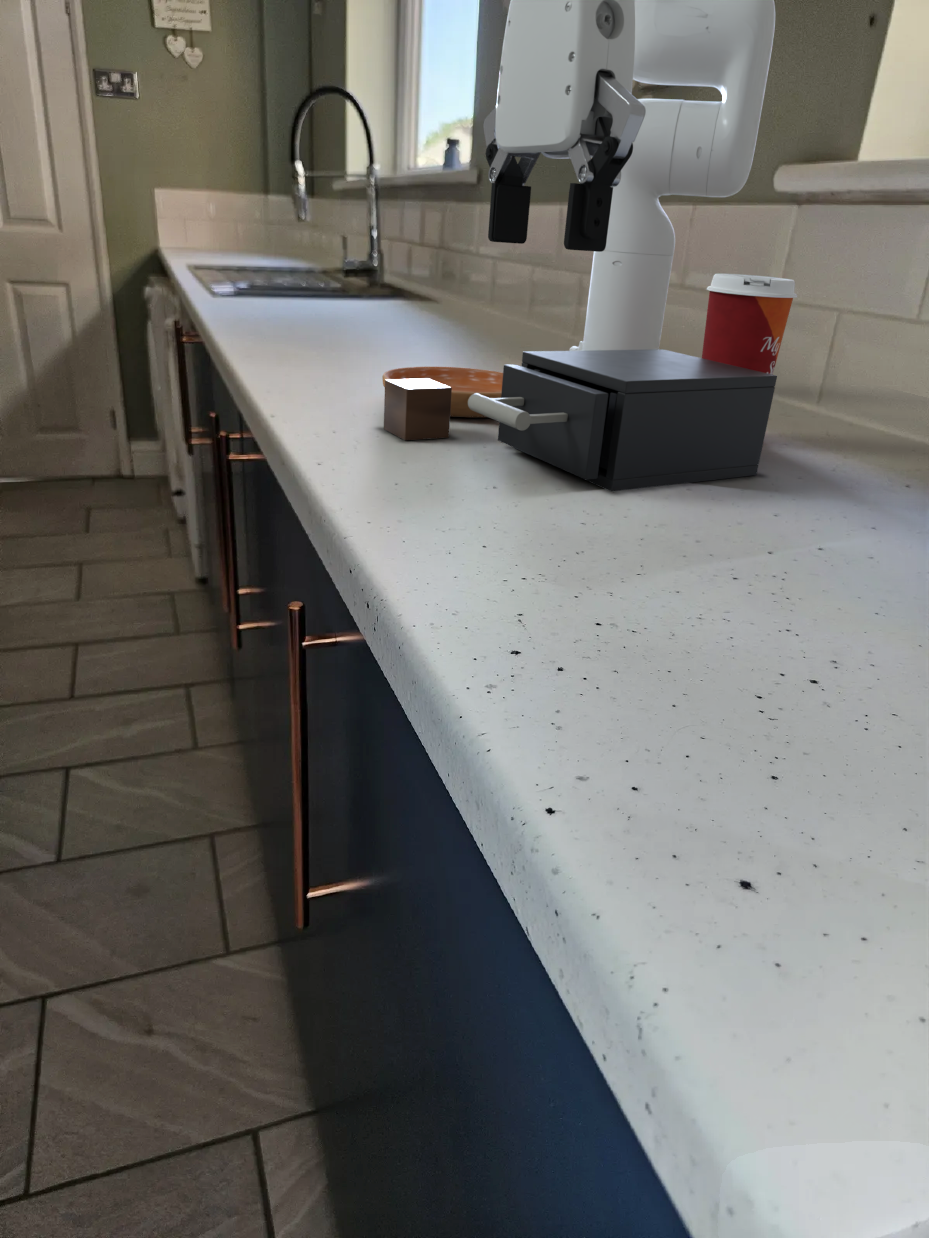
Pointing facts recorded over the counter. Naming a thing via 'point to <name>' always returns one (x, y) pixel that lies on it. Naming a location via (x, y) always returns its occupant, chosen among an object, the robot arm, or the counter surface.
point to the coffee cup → (747, 320)
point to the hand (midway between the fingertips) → (543, 246)
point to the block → (417, 409)
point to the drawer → (553, 418)
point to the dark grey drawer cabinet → (672, 414)
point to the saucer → (455, 384)
